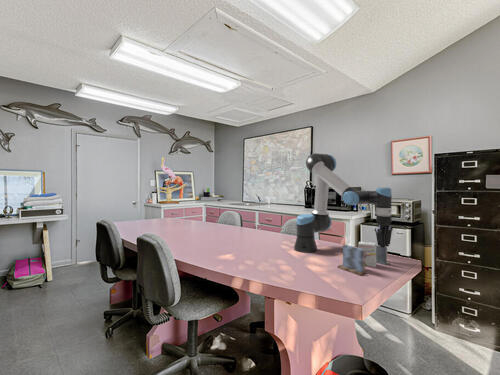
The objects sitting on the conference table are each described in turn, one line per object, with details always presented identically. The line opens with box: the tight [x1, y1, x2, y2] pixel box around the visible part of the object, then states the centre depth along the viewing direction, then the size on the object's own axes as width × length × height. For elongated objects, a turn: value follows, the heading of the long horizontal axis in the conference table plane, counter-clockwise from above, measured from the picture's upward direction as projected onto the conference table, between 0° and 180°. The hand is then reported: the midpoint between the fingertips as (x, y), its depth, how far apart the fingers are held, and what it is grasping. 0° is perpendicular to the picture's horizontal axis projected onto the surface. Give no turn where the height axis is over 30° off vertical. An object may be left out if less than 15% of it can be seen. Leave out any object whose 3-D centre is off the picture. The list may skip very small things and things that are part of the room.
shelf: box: [337, 244, 368, 277], centre depth 138 cm, size 14×27×12 cm, turn 119°
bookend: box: [376, 245, 391, 266], centre depth 143 cm, size 10×4×9 cm, turn 29°
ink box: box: [357, 241, 377, 268], centre depth 138 cm, size 9×5×12 cm, turn 62°
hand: (383, 257), depth 145 cm, fingers closed
